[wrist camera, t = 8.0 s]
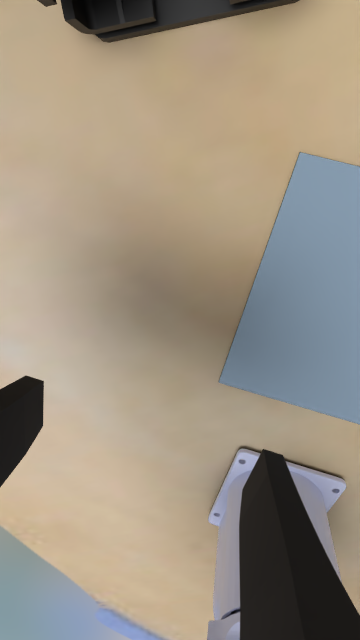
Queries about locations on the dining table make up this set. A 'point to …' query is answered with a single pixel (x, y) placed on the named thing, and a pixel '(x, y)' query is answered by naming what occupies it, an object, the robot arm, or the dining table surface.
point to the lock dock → (306, 298)
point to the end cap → (150, 14)
